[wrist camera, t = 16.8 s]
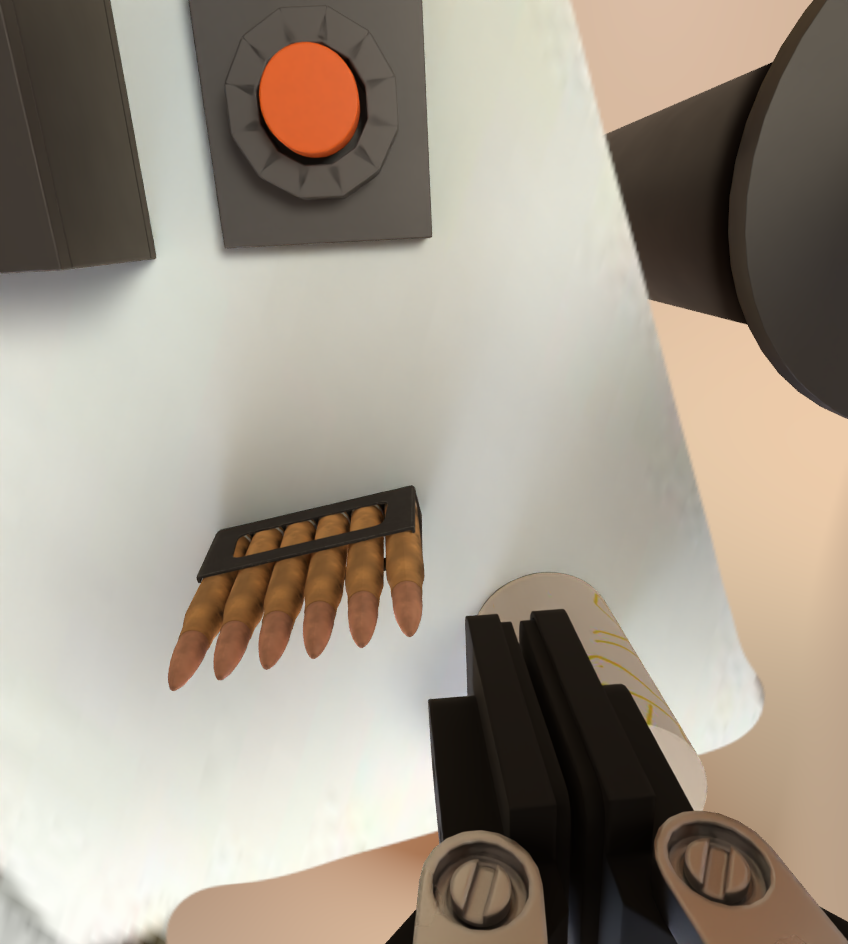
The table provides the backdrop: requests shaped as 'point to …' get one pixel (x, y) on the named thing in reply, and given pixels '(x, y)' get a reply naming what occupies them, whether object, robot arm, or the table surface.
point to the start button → (309, 99)
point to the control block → (328, 178)
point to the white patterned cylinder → (605, 660)
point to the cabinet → (66, 141)
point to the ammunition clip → (303, 580)
